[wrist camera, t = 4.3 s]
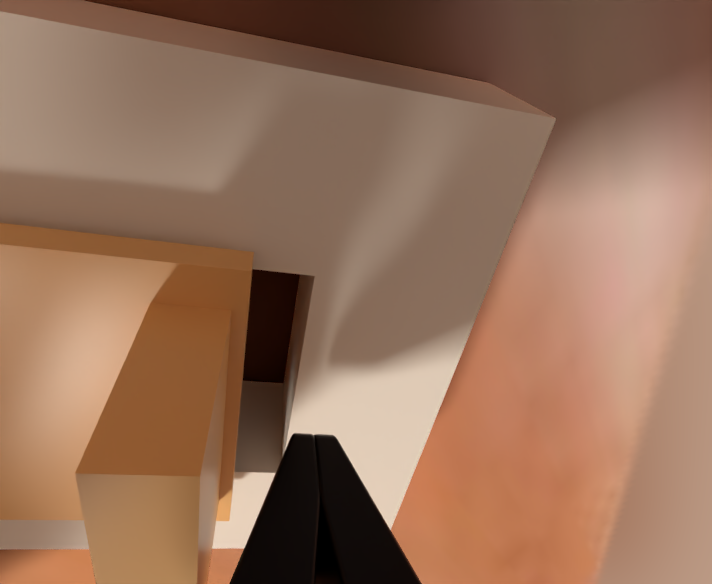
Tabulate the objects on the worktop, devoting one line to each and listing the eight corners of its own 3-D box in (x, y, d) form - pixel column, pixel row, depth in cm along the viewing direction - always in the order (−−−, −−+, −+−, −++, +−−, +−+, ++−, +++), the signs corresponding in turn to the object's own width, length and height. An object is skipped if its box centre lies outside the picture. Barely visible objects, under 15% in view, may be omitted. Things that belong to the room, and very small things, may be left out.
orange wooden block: (232, 496, 11) (209, 689, 8) (-93, 491, 10) (-264, 717, 7) (253, 252, 8) (228, 429, 5) (-241, 195, 6) (-720, 388, 3)
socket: (369, 459, 16) (383, 547, 14) (-292, 437, 12) (-438, 552, 10) (489, 82, 10) (556, 118, 7) (-774, -174, 6) (-1484, -274, 4)
